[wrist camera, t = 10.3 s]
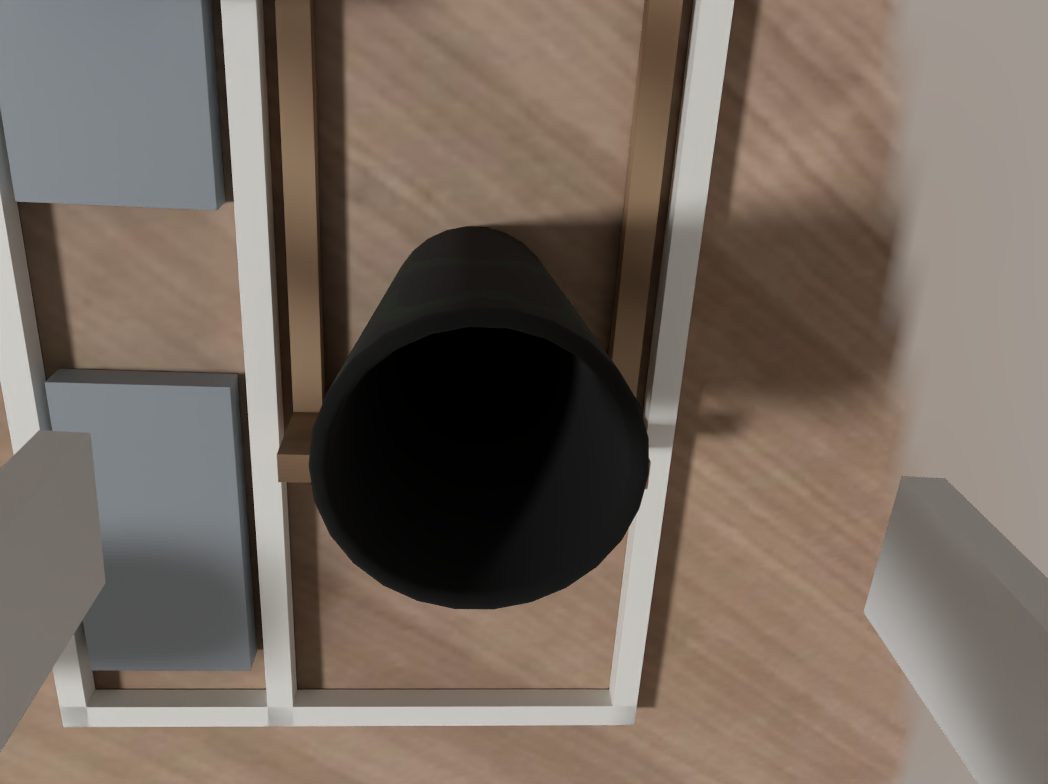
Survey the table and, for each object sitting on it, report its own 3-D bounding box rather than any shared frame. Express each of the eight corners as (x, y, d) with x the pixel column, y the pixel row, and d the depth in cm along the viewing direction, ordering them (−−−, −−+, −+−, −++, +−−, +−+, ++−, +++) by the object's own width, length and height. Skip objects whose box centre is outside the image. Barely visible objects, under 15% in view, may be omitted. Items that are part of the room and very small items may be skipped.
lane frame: (-106, -311, 24) (-132, -326, 23) (757, -235, 26) (770, -244, 25) (73, 708, 37) (61, 730, 36) (630, 707, 39) (635, 728, 38)
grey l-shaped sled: (-24, -172, 25) (-196, -232, 18) (200, -155, 26) (111, -207, 19) (31, 193, 29) (-93, 252, 22) (225, 202, 30) (159, 262, 23)
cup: (593, 201, 30) (671, 318, 19) (573, 410, 33) (630, 614, 22) (359, 188, 30) (302, 303, 19) (360, 403, 33) (311, 610, 22)
